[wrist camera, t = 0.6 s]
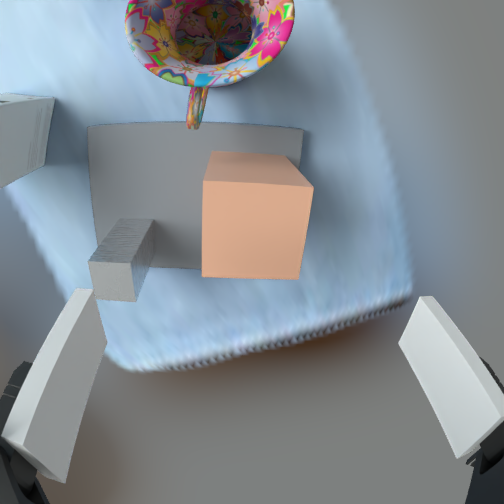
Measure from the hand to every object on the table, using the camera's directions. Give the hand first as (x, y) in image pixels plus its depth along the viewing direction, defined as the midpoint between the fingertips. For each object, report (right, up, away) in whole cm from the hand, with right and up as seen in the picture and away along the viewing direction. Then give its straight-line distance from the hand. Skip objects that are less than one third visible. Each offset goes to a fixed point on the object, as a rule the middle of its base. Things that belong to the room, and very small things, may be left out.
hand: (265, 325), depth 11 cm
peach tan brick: (-1, +8, +15) cm, 17 cm away
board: (-6, +8, +17) cm, 19 cm away
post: (-11, +4, +16) cm, 20 cm away
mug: (-4, +20, +11) cm, 23 cm away
